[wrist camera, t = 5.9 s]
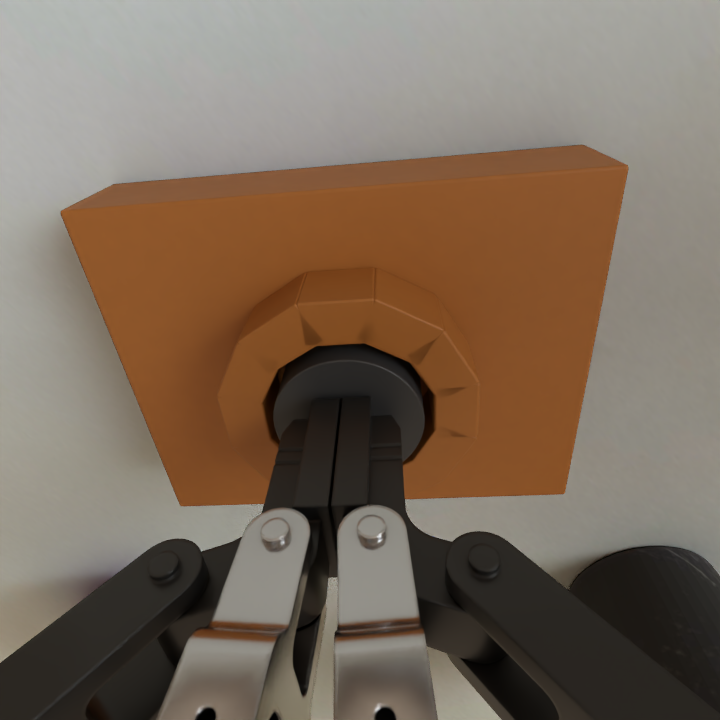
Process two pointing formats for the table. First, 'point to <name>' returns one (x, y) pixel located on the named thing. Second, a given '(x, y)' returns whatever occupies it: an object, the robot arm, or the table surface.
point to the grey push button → (353, 387)
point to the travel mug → (662, 610)
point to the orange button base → (361, 306)
